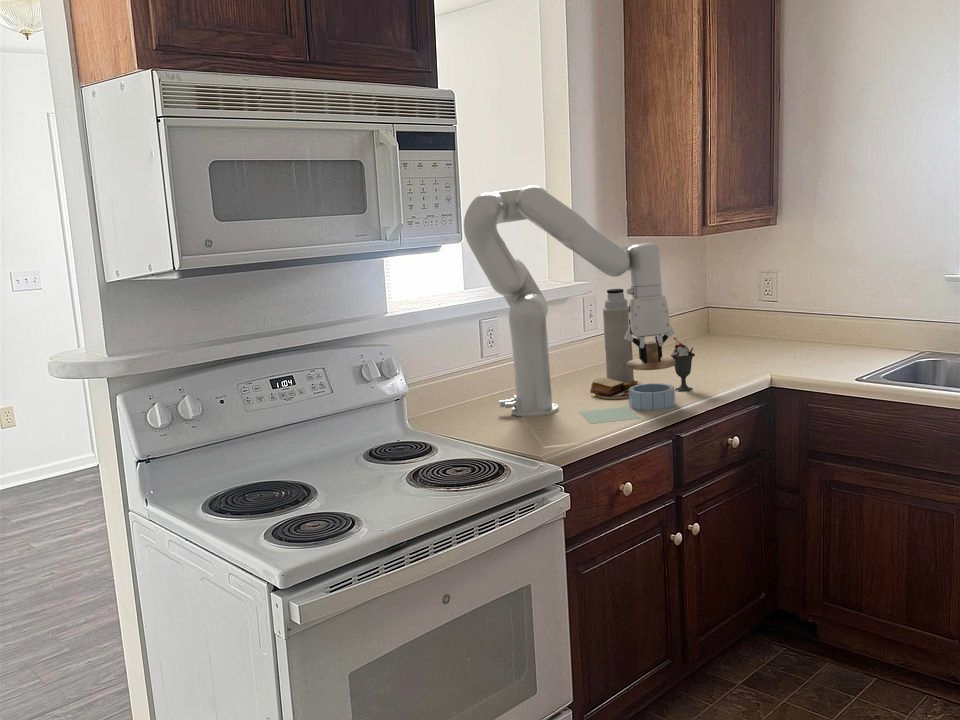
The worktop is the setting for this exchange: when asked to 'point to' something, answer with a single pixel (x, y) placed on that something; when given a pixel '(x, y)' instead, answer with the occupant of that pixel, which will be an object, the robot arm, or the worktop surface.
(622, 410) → the mat
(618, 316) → the thermos bottle
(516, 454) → the worktop surface
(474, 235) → the robot arm
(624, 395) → the toy sandwich meal
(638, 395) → the bowl
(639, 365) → the lid
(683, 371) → the sundae
